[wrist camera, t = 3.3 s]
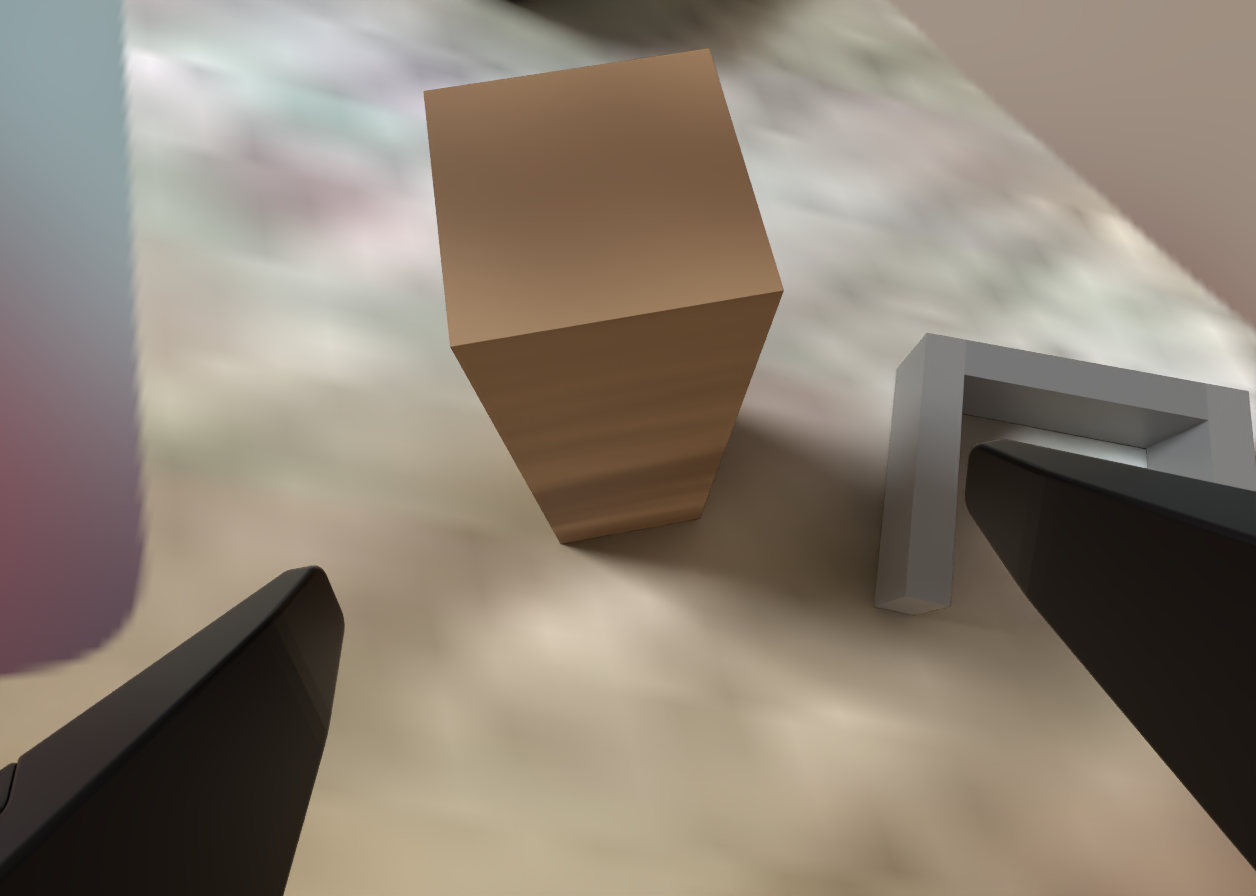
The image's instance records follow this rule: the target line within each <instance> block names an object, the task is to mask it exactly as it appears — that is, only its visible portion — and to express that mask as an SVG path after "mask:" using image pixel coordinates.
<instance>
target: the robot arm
mask: <svg viewBox="0 0 1256 896" xmlns="http://www.w3.org/2000/svg"><path fill="white" fill-rule="evenodd" d="M965 502H966V506H967V509H968V511H969V513H970V515H971V516H972V518H973V519H974V521H975V522H976V524H977V525H978V527H979V528H980V530H981V531H982V532H983V534H984V535H985V537H986V538H987V540H988V541H989V543H990V544H991V546H992V547H993V549H994V550H995V552H996V553H997V555H998V556H999V558H1000V559H1001V561H1002V562H1003V564H1004V565H1005V567H1006V568H1007V570H1008V571H1009V573H1010V574H1011V576H1012V577H1013V579H1014V580H1015V582H1016V583H1017V584H1018V586H1019V587H1020V589H1021V590H1022V591H1023V593H1024V594H1025V596H1026V597H1027V598H1028V599H1029V601H1030V602H1031V603H1032V604H1033V606H1034V607H1035V608H1036V610H1037V611H1038V612H1039V613H1040V614H1041V616H1042V617H1043V618H1044V619H1045V620H1046V622H1047V623H1048V624H1049V625H1050V626H1051V628H1052V629H1053V630H1054V631H1055V632H1056V633H1057V635H1058V636H1059V637H1060V638H1061V639H1062V641H1063V642H1064V643H1065V644H1066V645H1067V647H1068V648H1069V649H1070V650H1071V651H1072V653H1073V654H1074V655H1075V656H1076V657H1077V659H1078V660H1079V661H1080V662H1081V663H1082V664H1083V666H1084V667H1085V668H1086V669H1087V670H1088V672H1089V673H1090V674H1091V675H1092V676H1093V678H1094V679H1095V680H1096V681H1097V682H1098V684H1099V685H1100V686H1101V687H1102V688H1103V690H1104V691H1105V692H1106V693H1107V694H1108V695H1109V697H1110V698H1111V699H1112V700H1113V701H1114V703H1115V704H1116V705H1117V706H1118V707H1119V709H1120V710H1121V711H1122V712H1123V713H1124V715H1125V716H1126V717H1127V718H1128V719H1129V721H1130V722H1131V723H1132V724H1133V725H1134V727H1135V728H1136V729H1137V730H1138V731H1139V732H1140V734H1141V735H1142V736H1143V737H1144V738H1145V740H1146V741H1147V742H1148V743H1149V744H1150V746H1151V747H1152V748H1153V749H1154V750H1155V752H1156V753H1157V754H1158V755H1159V756H1160V758H1161V759H1162V760H1163V761H1164V762H1165V763H1166V765H1167V766H1168V767H1169V768H1170V769H1171V771H1172V772H1173V773H1174V774H1175V775H1176V777H1177V778H1178V779H1179V780H1180V781H1181V783H1182V784H1183V785H1184V786H1185V787H1186V789H1187V790H1188V791H1189V792H1190V793H1191V794H1192V796H1193V797H1194V798H1195V799H1196V800H1197V802H1198V803H1199V804H1200V805H1201V806H1202V808H1203V809H1204V810H1205V811H1206V812H1207V814H1208V815H1209V816H1210V817H1211V818H1212V820H1213V821H1214V822H1215V823H1216V824H1217V825H1218V827H1219V828H1220V829H1221V830H1222V831H1223V833H1224V834H1225V835H1226V836H1227V837H1228V839H1229V840H1230V841H1231V842H1232V843H1233V845H1234V846H1235V847H1236V848H1237V849H1238V851H1239V852H1240V853H1241V854H1242V855H1243V856H1244V858H1245V859H1246V860H1247V861H1248V862H1249V864H1250V865H1251V866H1252V867H1253V868H1254V870H1255V871H1256V491H1252V490H1247V489H1242V488H1238V487H1233V486H1228V485H1223V484H1218V483H1214V482H1209V481H1204V480H1199V479H1194V478H1190V477H1185V476H1180V475H1175V474H1171V473H1166V472H1161V471H1156V470H1151V469H1147V468H1142V467H1137V466H1132V465H1127V464H1123V463H1118V462H1113V461H1108V460H1103V459H1099V458H1094V457H1089V456H1084V455H1079V454H1075V453H1070V452H1065V451H1060V450H1055V449H1051V448H1046V447H1041V446H1036V445H1031V444H1027V443H1022V442H1017V441H1012V440H1008V439H998V440H992V441H987V442H982V443H978V444H975V445H974V446H973V447H972V448H971V450H970V452H969V458H968V468H967V478H966V488H965ZM344 629H345V624H344V617H343V613H342V610H341V608H340V606H339V603H338V601H337V599H336V596H335V594H334V591H333V589H332V587H331V584H330V582H329V580H328V577H327V575H326V573H325V572H324V570H323V569H322V568H321V567H319V566H307V567H302V568H296V569H291V570H288V571H286V572H284V573H282V574H281V575H279V576H278V577H277V578H275V579H274V580H272V581H271V582H269V583H268V584H267V585H265V586H264V587H262V588H261V589H259V590H258V591H257V592H255V593H254V594H252V595H251V596H249V597H248V598H247V599H245V600H244V601H242V602H241V603H239V604H238V605H236V606H235V607H234V608H232V609H231V610H229V611H228V612H226V613H225V614H224V615H222V616H221V617H219V618H218V619H216V620H215V621H214V622H212V623H211V624H209V625H208V626H206V627H205V628H204V629H202V630H201V631H199V632H198V633H196V634H195V635H194V636H192V637H191V638H189V639H188V640H186V641H185V642H184V643H182V644H181V645H179V646H178V647H176V648H175V649H173V650H172V651H171V652H169V653H168V654H166V655H165V656H163V657H162V658H161V659H159V660H158V661H156V662H155V663H153V664H152V665H151V666H149V667H148V668H146V669H145V670H143V671H142V672H141V673H139V674H138V675H136V676H135V677H133V678H132V679H131V680H129V681H128V682H126V683H125V684H123V685H122V686H120V687H119V688H118V689H116V690H115V691H113V692H112V693H110V694H109V695H108V696H106V697H105V698H103V699H102V700H100V701H99V702H98V703H96V704H95V705H93V706H92V707H90V708H89V709H88V710H86V711H85V712H83V713H82V714H80V715H79V716H78V717H76V718H75V719H73V720H72V721H70V722H69V723H68V724H66V725H65V726H63V727H62V728H60V729H59V730H57V731H56V732H55V733H53V734H52V735H50V736H49V737H47V738H46V739H45V740H43V741H42V742H40V743H39V744H37V745H36V746H35V747H33V748H32V749H30V750H29V751H27V752H26V753H25V754H23V755H22V756H20V757H19V759H18V762H17V763H10V764H9V765H7V766H6V767H4V768H3V769H1V770H0V896H283V895H284V891H285V888H286V884H287V880H288V877H289V873H290V870H291V866H292V862H293V859H294V855H295V852H296V848H297V844H298V841H299V837H300V834H301V830H302V826H303V823H304V819H305V816H306V812H307V808H308V805H309V801H310V798H311V794H312V790H313V787H314V783H315V780H316V776H317V772H318V769H319V765H320V762H321V758H322V754H323V751H324V747H325V743H326V739H327V735H328V730H329V725H330V719H331V714H332V707H333V701H334V694H335V688H336V682H337V675H338V669H339V662H340V656H341V650H342V643H343V637H344Z"/></svg>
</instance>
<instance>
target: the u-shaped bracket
mask: <svg viewBox="0 0 1256 896" xmlns="http://www.w3.org/2000/svg"><path fill="white" fill-rule="evenodd" d="M962 413H963V414H968V415H973V416H979V417H984V418H989V419H994V420H999V421H1005V422H1010V423H1015V424H1020V425H1026V426H1031V427H1036V428H1041V429H1046V430H1052V431H1057V432H1062V433H1067V434H1073V435H1078V436H1083V437H1088V438H1093V439H1099V440H1104V441H1109V442H1114V443H1120V444H1125V445H1130V446H1135V447H1141V448H1146V449H1147V469H1151V470H1156V471H1161V472H1166V473H1171V474H1175V475H1180V476H1185V477H1190V478H1194V479H1199V480H1204V481H1209V482H1214V483H1218V484H1223V485H1228V486H1233V487H1238V488H1242V489H1247V490H1252V491H1256V462H1255V452H1254V442H1253V432H1252V421H1251V411H1250V401H1249V391H1244V390H1239V389H1233V388H1228V387H1222V386H1217V385H1211V384H1206V383H1200V382H1195V381H1189V380H1184V379H1178V378H1173V377H1167V376H1162V375H1156V374H1151V373H1145V372H1140V371H1134V370H1129V369H1123V368H1118V367H1112V366H1107V365H1101V364H1096V363H1090V362H1085V361H1079V360H1074V359H1068V358H1063V357H1057V356H1052V355H1046V354H1041V353H1035V352H1030V351H1024V350H1019V349H1013V348H1008V347H1002V346H997V345H991V344H986V343H980V342H975V341H969V340H964V339H958V338H953V337H947V336H942V335H936V334H931V333H926V334H925V336H924V337H923V338H922V339H921V340H920V342H919V343H918V344H917V345H916V346H915V348H914V349H913V350H912V351H911V353H910V354H909V355H908V356H907V357H906V359H905V360H904V361H903V362H902V363H901V365H900V366H899V367H898V368H897V373H896V384H895V394H894V404H893V415H892V425H891V435H890V446H889V456H888V466H887V477H886V487H885V497H884V508H883V518H882V528H881V539H880V549H879V559H878V570H877V580H876V591H875V601H874V607H878V608H883V609H887V610H892V611H896V612H901V613H905V614H910V615H917V614H921V613H926V612H930V611H934V610H938V609H942V608H946V607H950V606H951V593H952V576H953V559H954V542H955V525H956V508H957V491H958V474H959V457H960V440H961V423H962Z"/></svg>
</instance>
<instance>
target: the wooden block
mask: <svg viewBox="0 0 1256 896" xmlns="http://www.w3.org/2000/svg"><path fill="white" fill-rule="evenodd" d="M424 100H425V110H426V120H427V129H428V139H429V148H430V158H431V168H432V177H433V187H434V196H435V206H436V215H437V225H438V235H439V244H440V254H441V263H442V273H443V282H444V292H445V302H446V311H447V321H448V330H449V340H450V347H451V349H452V351H453V353H454V354H455V356H456V358H457V360H458V362H459V363H460V365H461V367H462V369H463V370H464V372H465V374H466V376H467V378H468V379H469V381H470V383H471V385H472V387H473V388H474V390H475V392H476V394H477V395H478V397H479V399H480V401H481V403H482V404H483V406H484V408H485V410H486V412H487V413H488V415H489V417H490V419H491V420H492V422H493V424H494V426H495V428H496V429H497V431H498V433H499V435H500V437H501V438H502V440H503V442H504V444H505V445H506V447H507V449H508V451H509V453H510V454H511V456H512V458H513V460H514V462H515V463H516V465H517V467H518V469H519V470H520V472H521V474H522V476H523V478H524V479H525V481H526V483H527V485H528V487H529V488H530V490H531V492H532V494H533V495H534V497H535V499H536V501H537V503H538V504H539V506H540V508H541V510H542V512H543V513H544V515H545V517H546V519H547V520H548V522H549V524H550V526H551V528H552V529H553V531H554V533H555V535H556V537H557V538H558V540H559V542H560V544H563V543H569V542H574V541H580V540H585V539H590V538H596V537H601V536H607V535H612V534H617V533H623V532H628V531H634V530H639V529H645V528H650V527H655V526H661V525H666V524H672V523H677V522H682V521H688V520H693V519H699V518H700V516H701V513H702V510H703V508H704V505H705V502H706V500H707V497H708V494H709V492H710V489H711V486H712V483H713V481H714V478H715V475H716V473H717V470H718V467H719V464H720V462H721V459H722V456H723V454H724V451H725V448H726V445H727V443H728V440H729V437H730V435H731V432H732V429H733V427H734V424H735V421H736V418H737V416H738V413H739V410H740V408H741V405H742V402H743V399H744V397H745V394H746V391H747V389H748V386H749V383H750V380H751V378H752V375H753V372H754V370H755V367H756V364H757V362H758V359H759V356H760V353H761V351H762V348H763V345H764V343H765V340H766V337H767V334H768V332H769V329H770V326H771V324H772V321H773V318H774V315H775V313H776V310H777V307H778V305H779V302H780V299H781V297H782V294H783V291H784V289H783V286H782V283H781V280H780V276H779V273H778V270H777V267H776V263H775V260H774V257H773V254H772V250H771V247H770V244H769V241H768V237H767V234H766V231H765V228H764V224H763V221H762V218H761V215H760V211H759V208H758V205H757V201H756V198H755V195H754V192H753V188H752V185H751V182H750V179H749V175H748V172H747V169H746V166H745V162H744V159H743V156H742V153H741V149H740V146H739V143H738V140H737V136H736V133H735V130H734V127H733V123H732V120H731V117H730V114H729V110H728V107H727V104H726V101H725V97H724V94H723V91H722V88H721V84H720V81H719V78H718V75H717V71H716V68H715V65H714V62H713V58H712V55H711V52H710V49H709V48H707V49H700V50H693V51H687V52H680V53H673V54H667V55H660V56H654V57H647V58H640V59H634V60H627V61H620V62H614V63H607V64H600V65H594V66H587V67H581V68H574V69H567V70H561V71H554V72H547V73H541V74H534V75H527V76H521V77H514V78H508V79H501V80H494V81H488V82H481V83H474V84H468V85H461V86H454V87H448V88H441V89H435V90H428V91H424Z"/></svg>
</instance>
